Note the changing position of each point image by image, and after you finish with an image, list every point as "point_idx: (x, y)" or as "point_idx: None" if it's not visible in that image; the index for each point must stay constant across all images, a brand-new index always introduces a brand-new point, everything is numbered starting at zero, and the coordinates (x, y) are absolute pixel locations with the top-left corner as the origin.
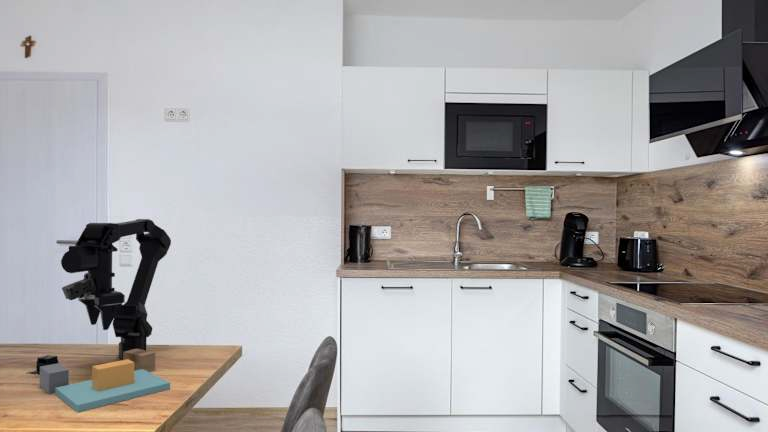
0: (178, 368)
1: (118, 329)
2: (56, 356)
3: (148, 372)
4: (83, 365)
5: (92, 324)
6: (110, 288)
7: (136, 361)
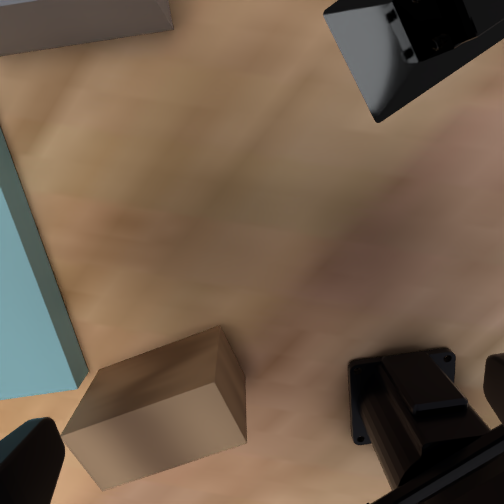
0: None
1: (484, 477)
2: (474, 29)
3: (5, 395)
4: (424, 195)
5: (487, 364)
6: None
7: (114, 394)
